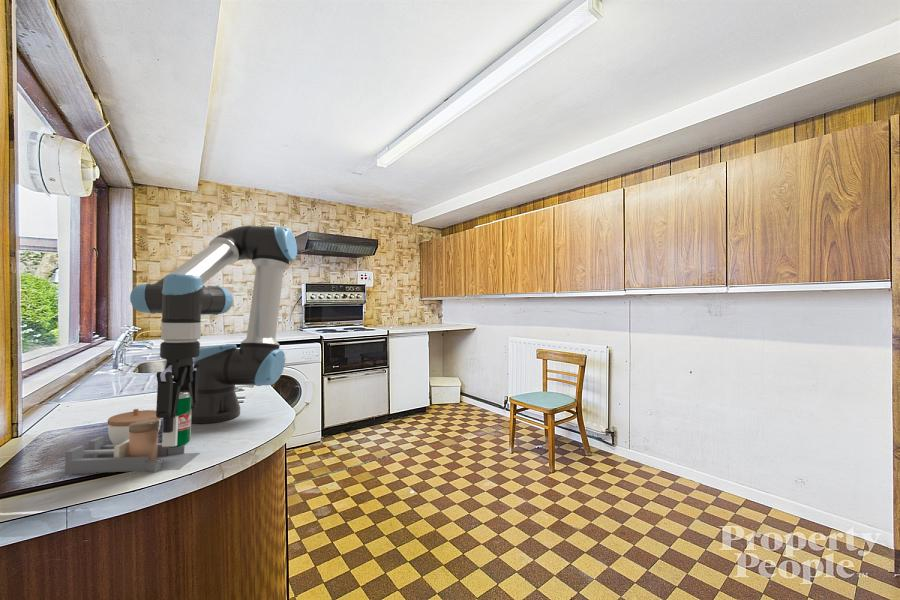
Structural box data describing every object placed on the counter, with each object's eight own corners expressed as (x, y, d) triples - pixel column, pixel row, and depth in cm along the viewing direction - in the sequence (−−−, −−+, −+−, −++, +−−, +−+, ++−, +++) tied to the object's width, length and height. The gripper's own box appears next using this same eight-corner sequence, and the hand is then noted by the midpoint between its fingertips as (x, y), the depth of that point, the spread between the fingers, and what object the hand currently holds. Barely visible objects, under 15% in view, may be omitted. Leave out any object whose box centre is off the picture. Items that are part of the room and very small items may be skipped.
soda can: (175, 449, 85) (178, 395, 85) (157, 447, 86) (159, 394, 86) (195, 441, 90) (197, 390, 90) (177, 439, 91) (179, 389, 91)
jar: (137, 457, 89) (139, 419, 90) (163, 457, 90) (164, 419, 90) (121, 467, 84) (123, 426, 84) (148, 466, 85) (150, 426, 85)
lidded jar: (157, 435, 105) (158, 401, 105) (163, 446, 98) (165, 410, 98) (105, 445, 98) (106, 408, 98) (107, 457, 90) (109, 418, 90)
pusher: (85, 457, 88) (85, 438, 88) (137, 455, 90) (138, 436, 90) (61, 468, 82) (62, 448, 82) (118, 466, 84) (119, 446, 84)
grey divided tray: (102, 455, 91) (103, 434, 91) (203, 452, 94) (203, 432, 94) (60, 477, 80) (61, 453, 80) (176, 473, 83) (177, 450, 83)
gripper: (184, 337, 97) (180, 429, 96) (137, 344, 79) (132, 457, 79) (216, 337, 98) (212, 428, 98) (176, 344, 80) (172, 456, 80)
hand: (176, 441), depth 88 cm, fingers closed on soda can, 5 cm apart
